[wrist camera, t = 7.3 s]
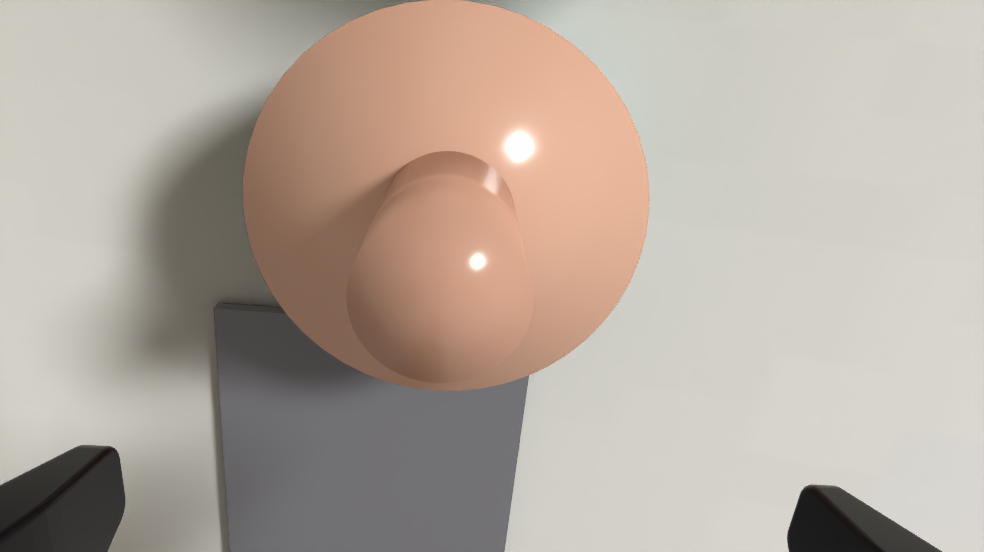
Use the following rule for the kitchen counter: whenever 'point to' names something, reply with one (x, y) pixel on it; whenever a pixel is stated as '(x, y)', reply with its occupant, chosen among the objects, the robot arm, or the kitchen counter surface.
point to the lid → (446, 195)
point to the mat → (355, 449)
